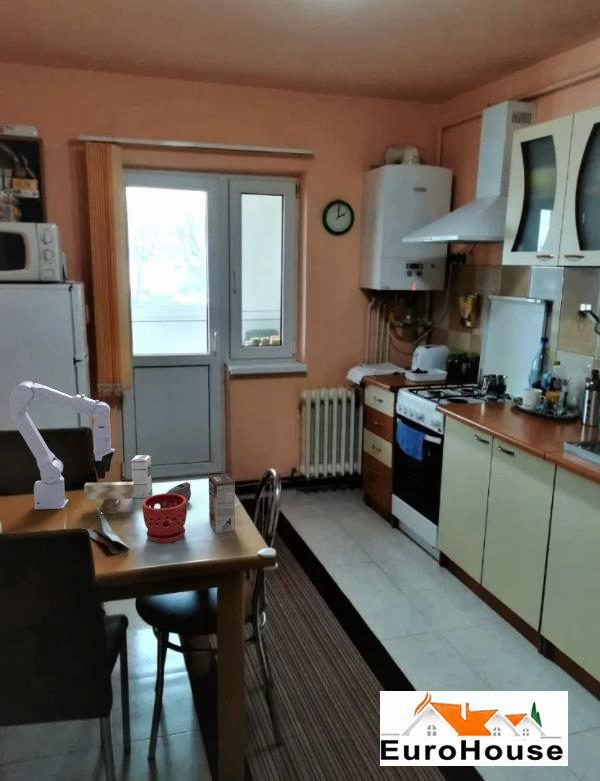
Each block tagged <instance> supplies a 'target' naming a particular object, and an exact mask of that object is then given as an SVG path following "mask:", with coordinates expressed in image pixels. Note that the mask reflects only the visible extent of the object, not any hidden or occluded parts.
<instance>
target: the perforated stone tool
mask: <svg viewBox="0 0 600 781" xmlns="http://www.w3.org/2000/svg"><path fill="white" fill-rule="evenodd" d="M166 493H172V494H179V495H182V496H184V497H185V498H186V501H187V503H188V502H190V501H191V500H190V499H191V497H192V491H191V483H189V482H188V481H186V482H183V483H180V484H177V485H176V486H173V487H172V488H170V489H169V490H168V491H166ZM162 504H163V505H166V504H167V502H165V501H164V502H163V503H162ZM175 504H177V502H175ZM170 506H172V504H170Z"/></svg>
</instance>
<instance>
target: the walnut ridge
mask: <svg viewBox="0 0 600 781" xmlns="http://www.w3.org/2000/svg"><path fill="white" fill-rule="evenodd" d="M121 500H122V499H103V502H102V503H101V506H100V508H99V512H100V511H101V512H102V513H103V514H102V515H116V514H117V511H118V509H119V508H120V506H121V502H122V501H121Z"/></svg>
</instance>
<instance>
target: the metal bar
mask: <svg viewBox="0 0 600 781" xmlns="http://www.w3.org/2000/svg"><path fill="white" fill-rule="evenodd" d="M83 489H84V490H83V491H84V500H85V501H86V500H87V501H89V500H90V501H91V500H93V501H97V500H104V499H120V500H129V499H130V500H131V499H132V500H133V499H134V496H135V491H134V482H132V481H111V482H110V481H108V482H106V481H104V482H85V484H84V486H83Z"/></svg>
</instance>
